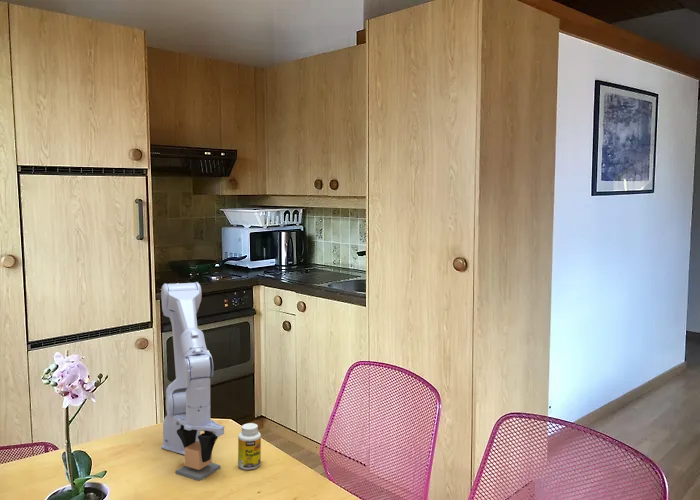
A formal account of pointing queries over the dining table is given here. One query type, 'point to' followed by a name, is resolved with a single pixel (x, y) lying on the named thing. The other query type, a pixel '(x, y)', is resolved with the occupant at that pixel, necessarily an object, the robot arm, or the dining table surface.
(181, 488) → the dining table surface
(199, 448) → the block
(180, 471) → the mat
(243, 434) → the supplement bottle
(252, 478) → the dining table surface
